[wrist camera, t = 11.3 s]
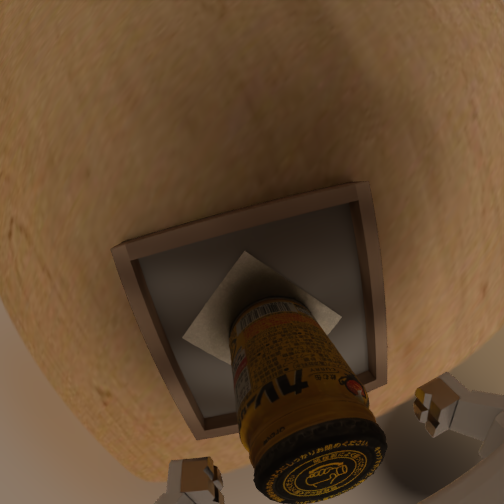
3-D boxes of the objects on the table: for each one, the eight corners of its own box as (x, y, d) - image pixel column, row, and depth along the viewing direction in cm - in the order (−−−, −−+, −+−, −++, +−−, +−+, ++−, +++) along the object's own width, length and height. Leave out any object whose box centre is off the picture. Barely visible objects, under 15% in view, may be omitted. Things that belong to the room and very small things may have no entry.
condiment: (279, 387, 21) (323, 519, 9) (182, 336, 19) (155, 485, 7) (340, 315, 20) (441, 424, 8) (244, 249, 18) (289, 352, 6)
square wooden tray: (122, 242, 18) (110, 249, 16) (353, 181, 19) (368, 181, 17) (197, 421, 22) (196, 440, 19) (375, 369, 22) (386, 383, 20)
